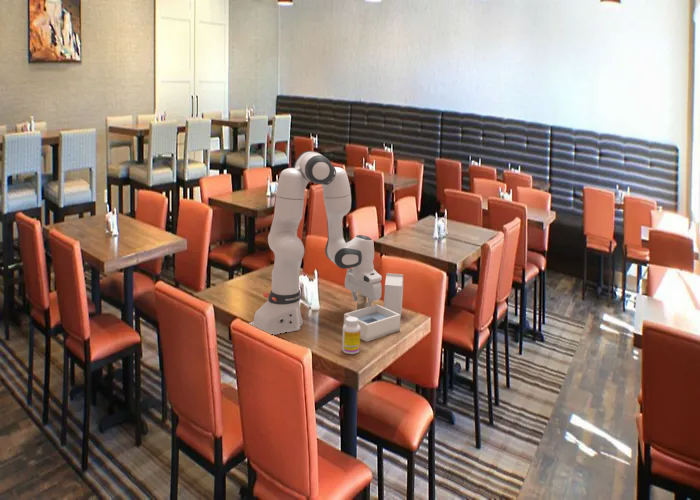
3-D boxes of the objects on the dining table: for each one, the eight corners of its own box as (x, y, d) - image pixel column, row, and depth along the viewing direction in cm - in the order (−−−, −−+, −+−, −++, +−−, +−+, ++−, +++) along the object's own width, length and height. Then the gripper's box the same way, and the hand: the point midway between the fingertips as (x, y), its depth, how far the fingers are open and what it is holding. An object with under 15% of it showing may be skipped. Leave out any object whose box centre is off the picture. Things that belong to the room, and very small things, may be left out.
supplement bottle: (362, 353, 216) (363, 321, 212) (345, 355, 214) (346, 323, 210) (356, 346, 222) (357, 314, 218) (339, 348, 220) (340, 316, 216)
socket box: (366, 341, 226) (367, 325, 224) (343, 329, 236) (344, 313, 234) (399, 330, 237) (400, 314, 235) (376, 319, 247) (377, 304, 245)
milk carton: (399, 319, 249) (402, 277, 243) (383, 317, 250) (385, 275, 245) (401, 313, 255) (404, 272, 250) (385, 311, 257) (387, 270, 251)
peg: (360, 317, 249) (361, 291, 246) (354, 315, 252) (355, 288, 248) (367, 315, 251) (368, 289, 248) (361, 313, 254) (362, 286, 251)
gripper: (341, 268, 252) (340, 298, 256) (373, 280, 237) (372, 312, 241) (352, 265, 256) (351, 295, 260) (384, 277, 241) (383, 309, 245)
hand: (361, 303), depth 250 cm, fingers open, 7 cm apart
